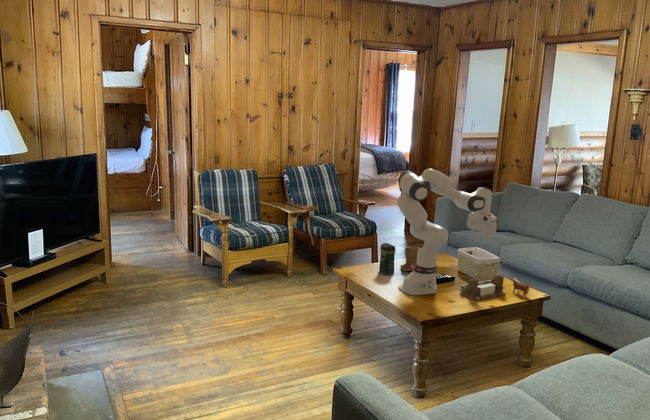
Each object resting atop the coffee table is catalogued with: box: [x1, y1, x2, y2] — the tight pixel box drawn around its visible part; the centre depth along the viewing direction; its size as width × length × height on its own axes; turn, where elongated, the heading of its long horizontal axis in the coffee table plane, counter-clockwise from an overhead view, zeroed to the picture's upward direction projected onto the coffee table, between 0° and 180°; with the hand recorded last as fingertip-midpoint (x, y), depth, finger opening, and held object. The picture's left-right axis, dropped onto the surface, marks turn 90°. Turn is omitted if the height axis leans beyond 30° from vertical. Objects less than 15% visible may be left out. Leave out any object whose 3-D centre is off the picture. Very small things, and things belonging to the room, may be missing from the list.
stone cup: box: [400, 246, 421, 272], centre depth 346 cm, size 15×12×15 cm
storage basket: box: [457, 246, 501, 282], centre depth 340 cm, size 24×16×15 cm
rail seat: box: [459, 273, 506, 302], centre depth 307 cm, size 23×12×11 cm, turn 119°
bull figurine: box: [510, 277, 530, 298], centre depth 310 cm, size 4×13×8 cm, turn 21°
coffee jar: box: [378, 242, 396, 275], centre depth 338 cm, size 10×8×19 cm
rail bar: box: [477, 282, 496, 296], centre depth 306 cm, size 12×4×4 cm, turn 119°
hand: (479, 238), depth 315 cm, fingers open, 8 cm apart
